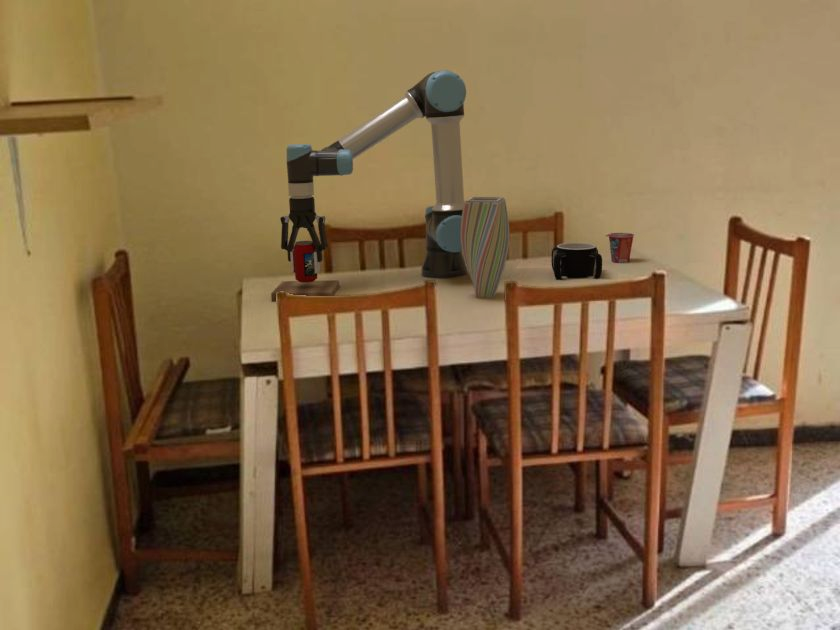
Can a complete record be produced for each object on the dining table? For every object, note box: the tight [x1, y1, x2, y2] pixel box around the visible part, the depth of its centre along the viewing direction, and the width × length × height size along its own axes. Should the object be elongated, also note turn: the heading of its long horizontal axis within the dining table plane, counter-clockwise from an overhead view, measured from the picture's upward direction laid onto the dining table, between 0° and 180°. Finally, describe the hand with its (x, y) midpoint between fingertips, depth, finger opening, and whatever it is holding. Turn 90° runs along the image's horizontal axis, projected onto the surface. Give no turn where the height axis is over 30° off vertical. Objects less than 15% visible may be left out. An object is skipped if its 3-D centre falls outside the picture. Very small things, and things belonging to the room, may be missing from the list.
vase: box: [461, 196, 510, 299], centre depth 254 cm, size 14×14×30 cm
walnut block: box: [270, 279, 340, 303], centre depth 274 cm, size 18×18×3 cm
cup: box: [605, 232, 635, 264], centre depth 298 cm, size 9×8×12 cm
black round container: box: [550, 242, 603, 281], centre depth 279 cm, size 16×16×12 cm
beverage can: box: [293, 240, 318, 283], centre depth 272 cm, size 7×7×12 cm
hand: (305, 272), depth 273 cm, fingers open, 7 cm apart
